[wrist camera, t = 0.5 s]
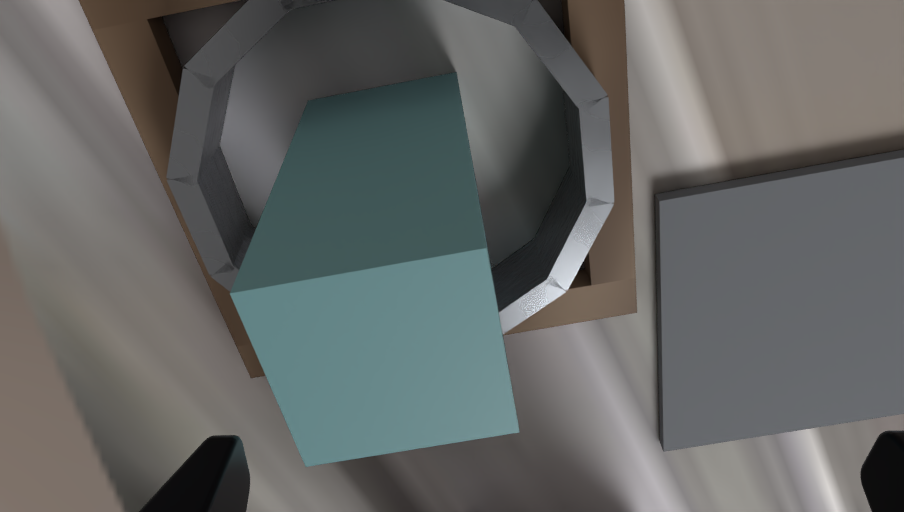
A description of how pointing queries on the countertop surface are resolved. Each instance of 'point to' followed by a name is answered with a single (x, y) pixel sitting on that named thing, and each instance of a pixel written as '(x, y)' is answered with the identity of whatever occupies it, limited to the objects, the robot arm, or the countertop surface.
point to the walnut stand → (585, 27)
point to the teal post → (378, 280)
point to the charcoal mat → (781, 301)
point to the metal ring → (515, 279)
